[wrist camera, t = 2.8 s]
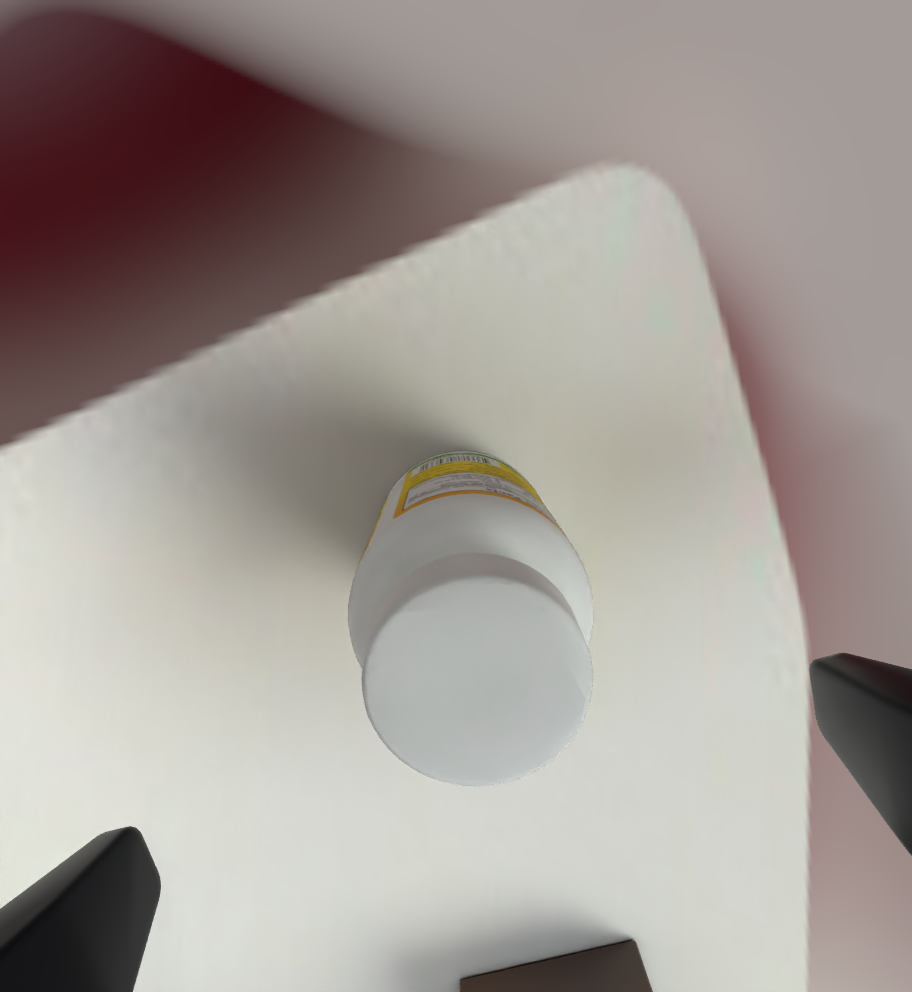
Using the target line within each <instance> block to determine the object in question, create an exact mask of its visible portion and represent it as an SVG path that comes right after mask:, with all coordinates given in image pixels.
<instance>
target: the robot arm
mask: <svg viewBox="0 0 912 992" xmlns="http://www.w3.org/2000/svg"><path fill="white" fill-rule="evenodd" d="M809 672H810V680H811V687H812V694H813V701H814V708H815V715H816V720H817V723H818V725H819V728H820V730H821V732H822V734H823V735H824V737H825V739H826V740H827V741H828V743H829V744H830V746H831V747H832V748H833V749H834V751H835V752H836V754H837V755H838V757H839V758H840V759H841V761H842V762H843V763H844V765H845V766H846V768H847V769H848V770H849V772H850V773H851V775H852V776H853V777H854V779H855V780H856V781H857V783H858V784H859V786H860V787H861V788H862V790H863V791H864V793H865V794H866V795H867V797H868V798H869V799H870V801H871V802H872V804H873V805H874V806H875V808H876V809H877V810H878V812H879V813H880V815H881V816H882V817H883V819H884V820H885V822H886V823H887V824H888V826H889V827H890V828H891V830H892V831H893V832H894V834H895V835H896V836H897V838H898V839H899V840H900V842H901V843H902V844H903V846H904V847H905V848H906V849H907V851H908V852H909V853H910V854H911V855H912V669H908V668H904V667H899V666H895V665H892V664H888V663H884V662H879V661H876V660H872V659H867V658H863V657H859V656H855V655H851V654H847V653H839V654H835V655H831V656H827V657H822V658H818V659H815V660H813V662H812V663H811V664H810V669H809ZM160 891H161V881H160V876H159V873H158V870H157V868H156V866H155V863H154V861H153V859H152V857H151V854H150V852H149V850H148V847H147V845H146V843H145V840H144V838H143V836H142V834H141V832H140V831H139V830H138V829H137V828H135V827H131V826H129V827H125V828H120V829H116V830H112V831H108V832H105V833H102V834H100V835H99V836H97V837H96V838H94V839H93V840H92V841H90V842H89V843H88V844H86V845H85V846H84V847H82V848H81V849H80V850H78V851H77V852H76V853H74V854H73V855H72V856H70V857H69V858H68V859H66V860H65V861H64V862H62V863H61V864H60V865H58V866H57V867H56V868H54V869H53V870H52V871H50V872H49V873H48V874H46V875H45V876H44V877H42V878H41V879H40V880H38V881H37V882H36V883H34V884H33V885H32V886H30V887H29V888H28V889H26V890H25V891H24V892H22V893H21V894H20V895H18V896H17V897H16V898H14V899H13V900H12V901H10V902H9V903H8V904H6V905H5V906H4V907H2V908H1V909H0V992H133V989H134V985H135V982H136V978H137V975H138V971H139V968H140V964H141V961H142V957H143V954H144V950H145V947H146V943H147V940H148V936H149V933H150V929H151V926H152V922H153V919H154V915H155V912H156V908H157V905H158V901H159V897H160Z"/></svg>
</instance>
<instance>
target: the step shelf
mask: <svg viewBox="0 0 912 992" xmlns="http://www.w3.org/2000/svg"><path fill="white" fill-rule="evenodd" d="M460 992H653V991H652V988H651V985H650V982H649V979H648V976H647V973H646V970H645V967H644V964H643V961H642V958H641V955H640V953H639V950H638V947H637V944H636V942H635V941H629V942H625V943H620V944H616V945H612V946H607V947H603V948H599V949H594V950H590V951H585V952H581V953H577V954H572V955H568V956H564V957H559V958H555V959H551V960H546V961H542V962H537V963H533V964H529V965H524V966H520V967H516V968H511V969H507V970H503V971H498V972H494V973H490V974H485V975H481V976H476V977H472V978H468V979H463V980H461V981H460Z"/></svg>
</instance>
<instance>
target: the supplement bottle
mask: <svg viewBox="0 0 912 992" xmlns="http://www.w3.org/2000/svg"><path fill="white" fill-rule="evenodd" d="M348 623H349V632H350V637H351V641H352V645H353V649H354V652H355V654H356V657H357V660H358V662H359V664H360V666H361V668H362V690H363V697H364V703H365V708H366V711H367V714H368V717H369V719H370V721H371V723H372V725H373V727H374V729H375V731H376V732H377V734H378V736H379V737H380V739H381V740H382V741H383V743H384V744H385V745H386V746H387V748H388V749H389V750H390V751H391V752H392V753H393V754H394V755H396V756H397V757H398V758H399V759H400V760H401V761H403V762H404V763H405V764H407V765H408V766H410V767H411V768H413V769H415V770H416V771H418V772H420V773H422V774H424V775H426V776H428V777H431V778H434V779H437V780H440V781H443V782H447V783H451V784H457V785H463V786H487V785H496V784H501V783H505V782H509V781H513V780H516V779H520V778H522V777H524V776H526V775H528V774H531V773H533V772H535V771H536V770H538V769H540V768H542V767H543V766H545V765H546V764H548V763H549V762H550V761H551V760H553V759H554V758H555V757H556V756H557V755H558V754H559V753H560V752H561V751H562V750H564V749H565V748H566V746H567V745H568V744H569V742H570V741H571V740H572V739H573V737H574V736H575V735H576V733H577V731H578V730H579V728H580V726H581V724H582V722H583V720H584V718H585V716H586V713H587V710H588V706H589V702H590V698H591V693H592V682H593V672H592V663H591V657H590V652H589V648H588V645H589V642H590V638H591V632H592V625H593V598H592V591H591V586H590V583H589V579H588V575H587V573H586V570H585V568H584V565H583V563H582V561H581V559H580V557H579V555H578V553H577V552H576V550H575V548H574V547H573V545H572V544H571V542H570V541H569V539H568V538H567V536H566V535H565V533H564V532H563V530H562V529H561V528H560V526H559V525H558V523H557V522H556V520H555V519H554V518H553V516H552V515H551V513H550V512H549V511H548V509H547V508H546V506H545V505H544V503H543V502H542V501H541V499H540V497H539V496H538V494H537V493H536V491H535V489H534V488H533V487H532V486H531V485H530V483H529V482H528V481H527V480H526V479H525V478H524V477H523V476H522V475H521V474H520V473H519V472H518V471H517V470H516V469H514V468H513V467H512V466H510V465H509V464H507V463H505V462H503V461H501V460H499V459H497V458H495V457H492V456H489V455H487V454H482V453H478V452H469V451H456V452H448V453H443V454H439V455H436V456H433V457H430V458H428V459H426V460H424V461H422V462H420V463H418V464H417V465H415V466H414V467H412V468H411V469H410V470H408V471H407V472H406V473H405V474H404V475H403V476H402V477H401V478H400V479H399V480H398V481H397V483H396V484H395V485H394V487H393V488H392V490H391V491H390V493H389V495H388V497H387V498H386V501H385V503H384V505H383V507H382V510H381V512H380V515H379V517H378V520H377V522H376V525H375V527H374V529H373V532H372V534H371V537H370V539H369V542H368V544H367V546H366V549H365V551H364V553H363V555H362V558H361V560H360V562H359V565H358V567H357V570H356V573H355V576H354V579H353V582H352V586H351V591H350V597H349V604H348Z"/></svg>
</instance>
